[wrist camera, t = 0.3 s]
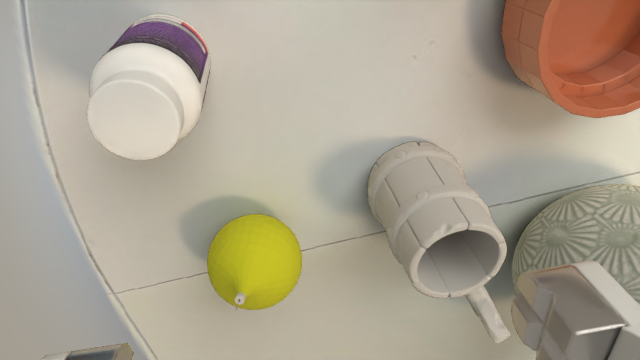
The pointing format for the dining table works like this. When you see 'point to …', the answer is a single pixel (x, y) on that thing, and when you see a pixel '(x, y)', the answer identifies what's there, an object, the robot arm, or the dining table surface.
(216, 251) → the ornament
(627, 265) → the planter
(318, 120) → the dining table surface
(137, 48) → the pill bottle
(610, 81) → the bowl
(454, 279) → the mug
